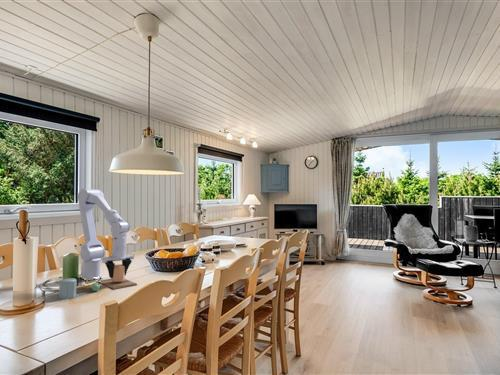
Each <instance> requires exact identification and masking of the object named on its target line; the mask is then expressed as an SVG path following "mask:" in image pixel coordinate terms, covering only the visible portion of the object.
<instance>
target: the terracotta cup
mask: <svg viewBox="0 0 500 375" xmlns="http://www.w3.org/2000/svg"><path fill="white" fill-rule="evenodd" d="M110 279H111V281H113V282H119V281H123V280H124V279H126V277H125V265H122V263H121V264H120V263H119V264H118V263H117V264H115V266H114V270H113V278H110Z"/></svg>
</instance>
